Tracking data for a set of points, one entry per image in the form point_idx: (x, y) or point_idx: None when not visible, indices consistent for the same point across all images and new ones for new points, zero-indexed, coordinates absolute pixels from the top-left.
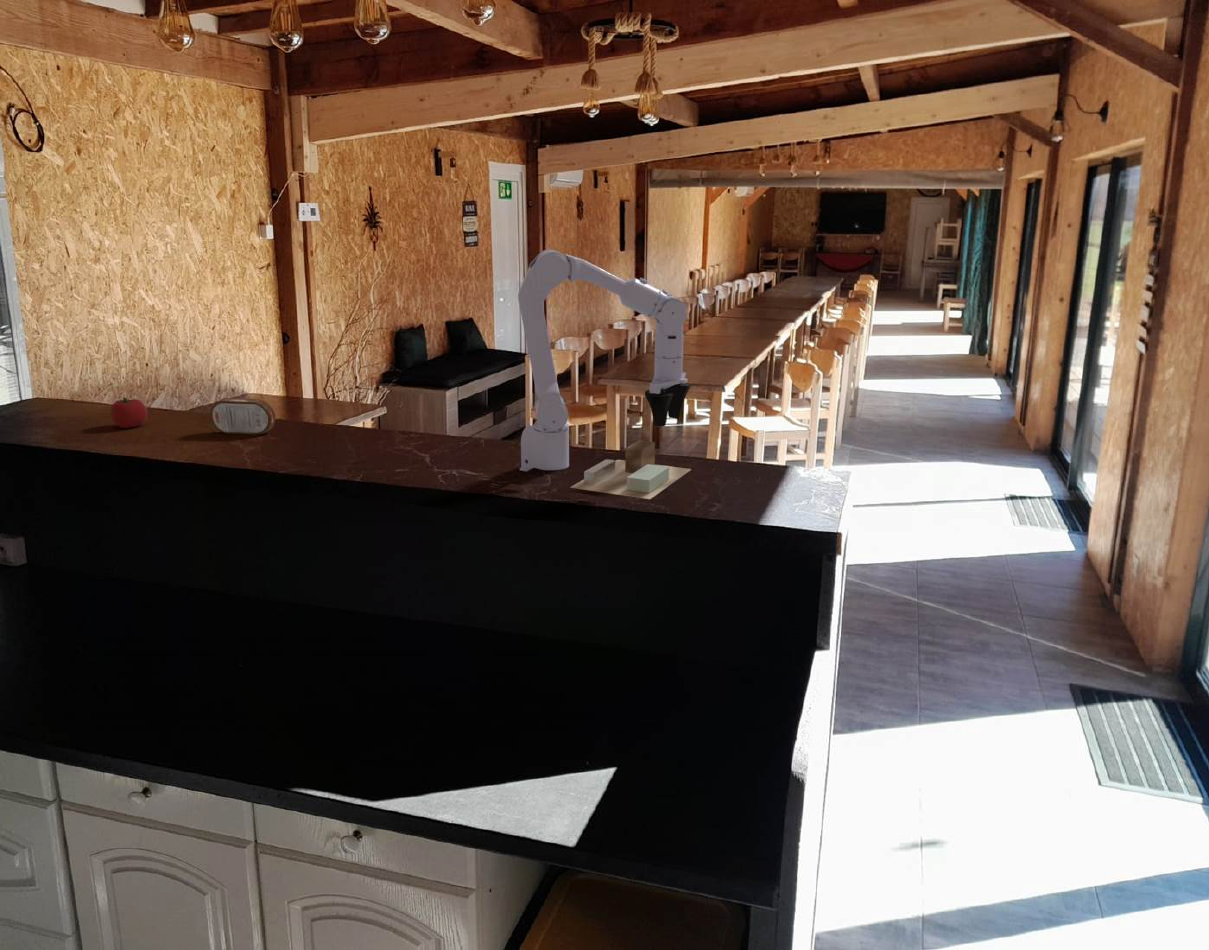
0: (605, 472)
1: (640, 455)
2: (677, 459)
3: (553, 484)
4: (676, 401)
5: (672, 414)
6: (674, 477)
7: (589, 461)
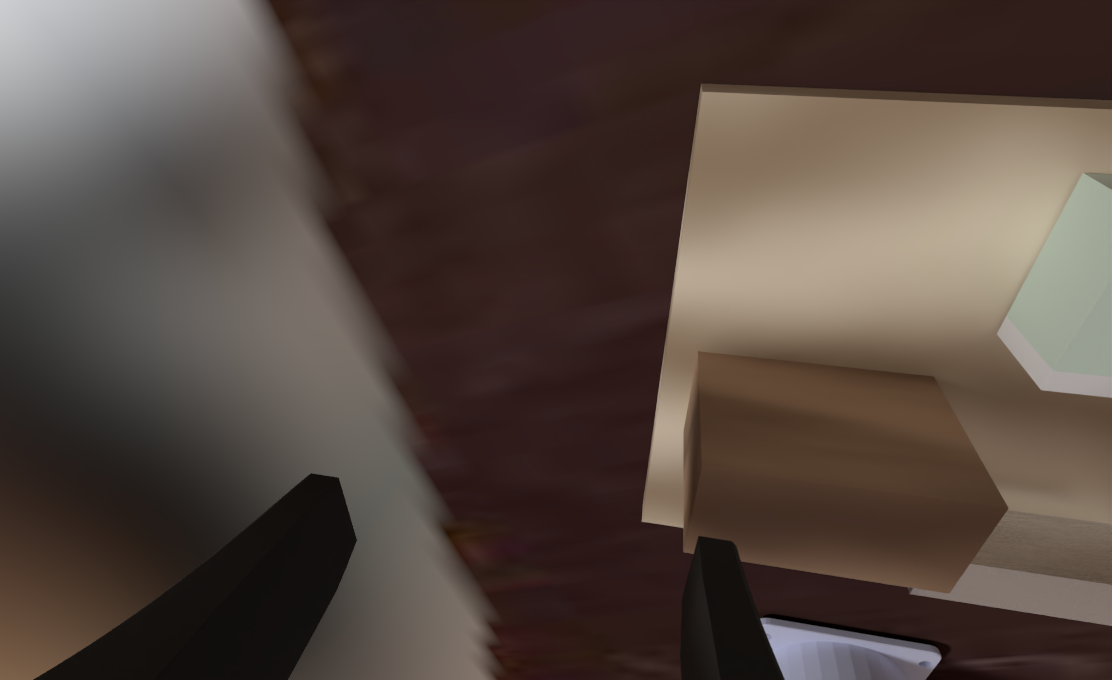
0: (1070, 545)
1: (985, 478)
2: (404, 275)
3: (1070, 646)
4: (220, 678)
5: (331, 551)
6: (997, 149)
7: (644, 589)
